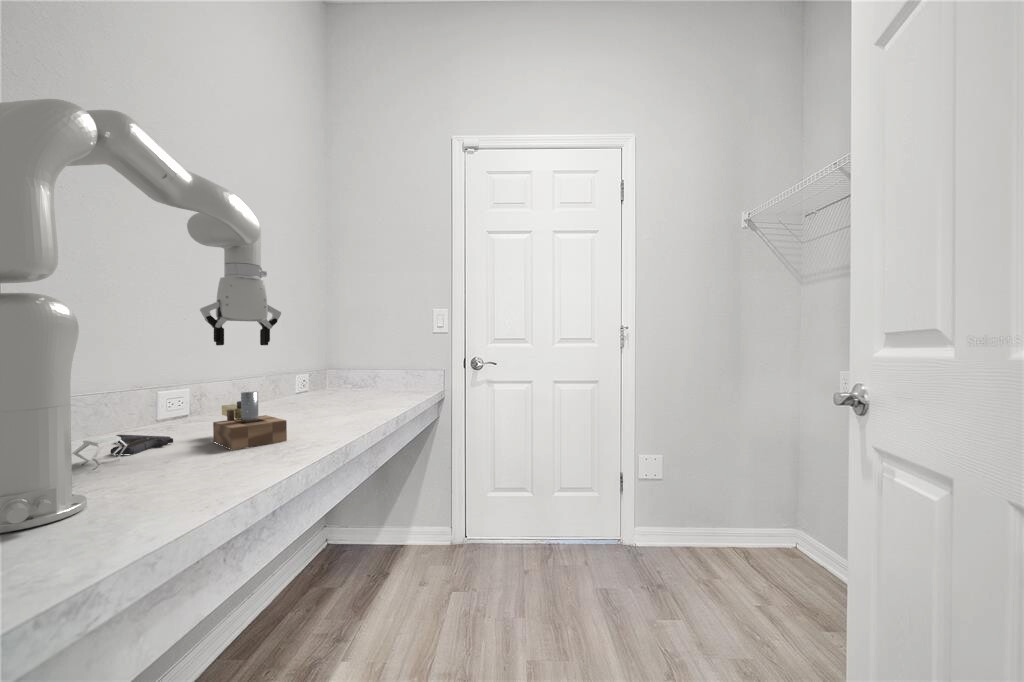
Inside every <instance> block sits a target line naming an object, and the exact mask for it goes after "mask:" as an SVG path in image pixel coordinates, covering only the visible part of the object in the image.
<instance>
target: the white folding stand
mask: <svg viewBox="0 0 1024 682" xmlns="http://www.w3.org/2000/svg"><path fill="white" fill-rule="evenodd" d="M116 435H117V434H116ZM116 435H115V434H114V433H113V434H110V435H109V434H108V435H104V436H100V437H96V438H91V439H86V440H85V439H84V440H82V443H83V444H82V445H80V446H79V447H77V449H75V450H74V451H73V452H71V455H74V456H76V457H78V458H79V459H81V460H84V462H82V463H79V464H80V465H79V466H84V464H87V463H88V462H90V460H89V459H87V458H86V457H85V456H83V455H81V453H80V452H81V451H84V449H86V448H88V447H89V446H93V447H98V448H97V450H96V451H95V453H94V455H93V457H91V460H92V461H93V462H95V463H96V466H95V467H93V468H92V470H93V469H94V470H96V469H97V468H99V466H100V467H101V464H100V462H99V461H98V460H97V457H98V455H99V453H100V452H101V449H102V448H103V447H106V446H110V445H113V444H116V445H117V446H119V448H118V449H117V450H116V451H115V452H114V453H113V454H111V456H114V457H115V458H118V460H120V459H121V456H122V455H121V454H122V452H123V451H124V450H125V448H126V447H127V445H126V444H125V443H124V442H123V441H122V440H121V437H119V436H116ZM117 441H120V442H121V443H122V444H121V443H118V442H117ZM121 445H125V446H124V448H123V449H122V451H121V453H120V454H119V455H114V454H115V453H116V452H117V451H119V450H120V449H121V448H122V446H121ZM116 456H117V457H116ZM121 460H122V459H121Z"/></svg>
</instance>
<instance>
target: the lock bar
mask: <svg viewBox="0 0 1024 682" xmlns="http://www.w3.org/2000/svg"><path fill="white" fill-rule="evenodd" d="M231 409H232V410H234V419H241V400H239V401H238V400H237V401H236V404H235V403H233V404H225V405H221V415H222V416H225V417H227V410H231Z"/></svg>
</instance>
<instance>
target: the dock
mask: <svg viewBox="0 0 1024 682" xmlns="http://www.w3.org/2000/svg"><path fill="white" fill-rule="evenodd" d="M212 427H213V429H212V430H213V437H212V438H213V443H214V442H216V443H218V444H220V445H223V446H225V447H227V448H226V449H228V448H230V449H232V450H231V451H234V450H233V449H237V450H241V449H240V448H243V449H247V448H246V447H249V448H252V447H251V446H254V447H259V446H258V445H260V446H265V444H266V445H271V444H276V443H283V442H286V441H287V440H288V438H287V437H288V436H287V433H288V431H287V420H286V419H283V418H278V417H274V416H270V415H266V414H265V415H258V422H255V423H247V424H241V418H240V419H235V418H234V410H232V409H231V410H227V416H226V420H220V421H213V422H212ZM218 444H217V445H218ZM220 445H219V446H220ZM223 446H222V447H223ZM225 447H224V448H225ZM230 449H229V450H230Z"/></svg>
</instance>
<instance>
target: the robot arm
mask: <svg viewBox="0 0 1024 682" xmlns="http://www.w3.org/2000/svg"><path fill="white" fill-rule="evenodd" d="M96 165H106V166H110V167H111V168H112V169H113V170H115V172H117V173H118V174H120V176H123V177H124V178H125V179H126V180H127V181H128V182H130V183H131V184H132V185H133V186H134V187H135V188H137V189H139V190H140V191H141V192H142V193H143V194H144V195H146V196H147V197H148V198H149V199H151V200H153V201H154V202H157V203H159V204H162V205H166V206H169V207H171V208H172V207H173V208H177V209H181V210H186V211H190V212H196V213H194V214H192V215H191V217H189V219H188V221H187V223H186V229H187V232H188V234H189V236H190V237H191V238H192V240H193V241H195V242H196V243H198V244H200V245H203V246H206V247H211V248H212V247H213V248H220V249H224V252H223V253H224V256H223V258H224V259H223V260H224V263H223V264H224V274H223V275H224V277H220V278H219V281H218V286H217V293H216V302H212V303H211V304H208V305H206V306H203V307H200V308H199V311H200V313H201V315H202V316H203V318H204V320H205V322H207V324H209V325H210V326H211V327H212V328H213V342H214V343H215V345H216V346H224V345H225V328H224V327H223V325H225V323H226V322H228V321H229V322H230V321H231V322H257V324H258V325H259V326H260V327H261V329H260V331H259V332H260V333H259V334H260V335H259V343H260V344H259V345H260V346H269V343H270V341H271V329H272V328H273V327H274V326H275V325H276V324H277V323H278V320H279V319H280V317H281V315H282V311H279V310H278V309H276V308H274V307H272V306H271V305H269V304H268V296H267V290H266V286H265V282H264V280H262V278H264V277H265V278H266V277H267V276H268V274H267V273H268V272H267V271H264V270H263V268H262V266H261V265H262V251H261V249H262V248H261V247H262V242H261V241H262V237H261V236H262V233H261V232H262V231H261V224H260V222H259V219H258V218H257V217H256V215H255V213H254V212H253V211H252V210H251V209H250V208H249V207H248V206H247V204H246V203H245V202H244V201H243V200H242V199H240V197H239V196H238V195H236V194H235V193H233V192H232V191H230V190H229V189H227V188H225V187H223V186H221V185H219V184H217V183H215V182H213V181H212V180H210V179H207V178H205V177H203V176H201V175H198V174H196V173H194V172H191V171H189V170H188V169H186V168H185V167H183V165H182V164H181V163H180V162H178V161H177V159H176V158H174V156H172V155H171V154H170V153H169V152H168V151H167V150H166V149H165V148H164V147H163V146H161V144H160V143H159V142H158V141H157V140H155V138H153V137H152V136H151V134H149V133H148V132H147V131H146V130H145V129H144V128H143V127H142V126H141V125H140V124H139V123H138V122H137V121H136V120H134V119H133V118H132V117H131V116H129V115H127V114H125V113H123V112H121V111H118V110H114V109H113V110H112V109H93V110H92V109H91V110H86V109H84V108H83V107H81V106H79V105H78V104H75V103H73V102H71V101H67V100H63V99H58V98H42V99H41V98H40V99H39V98H38V99H27V100H16V101H7V102H6V101H5V102H0V534H2V533H3V534H4V533H10V532H14V531H15V532H16V531H21V530H26V529H30V528H35V527H38V526H39V527H40V526H42V525H46V524H50V523H53V522H56V521H60V520H62V519H66V518H68V517H71V516H74V515H75V514H77V513H79V512H81V511H82V510H84V509H85V507H87V505H88V499H87V497H86V496H84V495H82V494H76V493H75V494H74V493H73V465H72V463H73V462H72V461H73V460H72V456H73V455H72V417H71V415H72V410H71V407H72V406H71V405H72V404H71V380H72V376H71V375H72V368H73V367H72V366H73V360H74V357H75V356H74V355H75V351H76V349H77V344H78V339H79V332H80V328H79V321H78V319H77V316H76V314H75V313H74V311H73V310H72V309H71V308H70V307H69V305H67V304H65V303H64V302H63V301H61V300H59V299H57V298H55V297H52V296H49V295H46V294H40V293H33V292H2V286H1V285H2V284H21V283H22V284H23V283H25V284H26V283H32V282H38V281H41V280H45V279H47V278H49V277H51V276H52V275H53V274H54V273H55V271H56V270H57V267H58V264H59V248H58V247H59V246H58V235H57V226H56V214H55V213H56V212H55V201H54V200H55V197H54V196H55V184H56V182H57V180H58V177H59V175H60V174H61V172H62V171H63V170H64V169H65V168H66V167H73V166H74V167H75V166H96ZM213 310H215V317H216V319H215V318H214V317H213V316H212V315H211V311H213ZM268 313H269V314H271V318H270V319H269V320H268V319H267V318H268Z"/></svg>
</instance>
